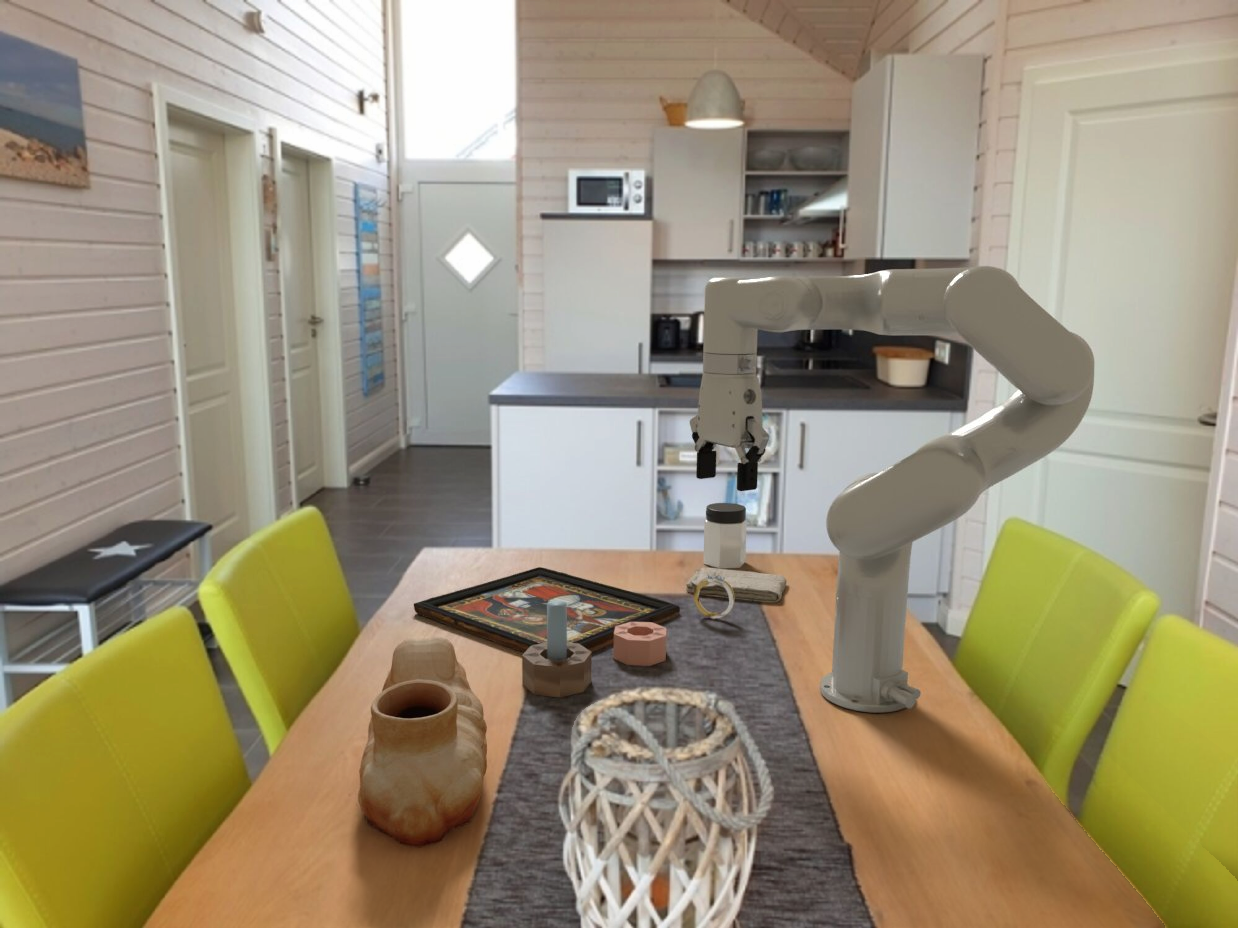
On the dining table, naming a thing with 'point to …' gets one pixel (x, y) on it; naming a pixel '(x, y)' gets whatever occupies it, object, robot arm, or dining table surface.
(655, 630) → the pink octagonal nut
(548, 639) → the dowel
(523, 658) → the bead
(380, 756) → the ceramic vessel
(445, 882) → the dining table surface
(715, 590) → the washcloth
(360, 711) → the dining table surface
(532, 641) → the religious icon
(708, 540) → the jar
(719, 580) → the ring
